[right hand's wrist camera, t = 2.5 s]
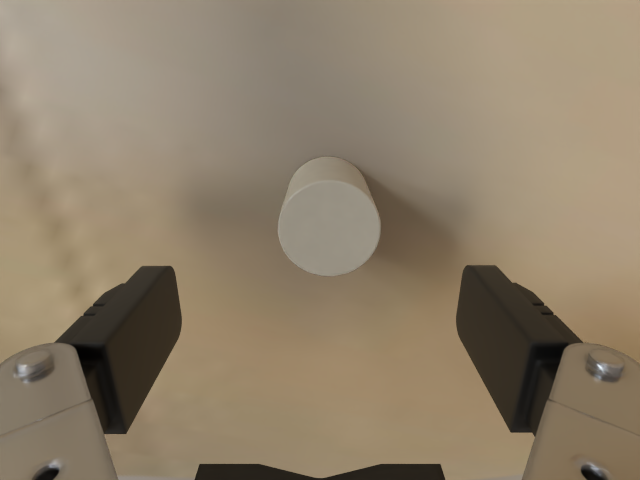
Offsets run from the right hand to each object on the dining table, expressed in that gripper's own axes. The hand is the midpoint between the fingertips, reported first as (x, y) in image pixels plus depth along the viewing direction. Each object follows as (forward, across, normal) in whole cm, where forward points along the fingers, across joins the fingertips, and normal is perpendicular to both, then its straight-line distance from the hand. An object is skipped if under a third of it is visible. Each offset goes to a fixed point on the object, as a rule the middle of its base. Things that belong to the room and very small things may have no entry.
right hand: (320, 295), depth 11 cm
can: (+9, 0, 0) cm, 9 cm away
